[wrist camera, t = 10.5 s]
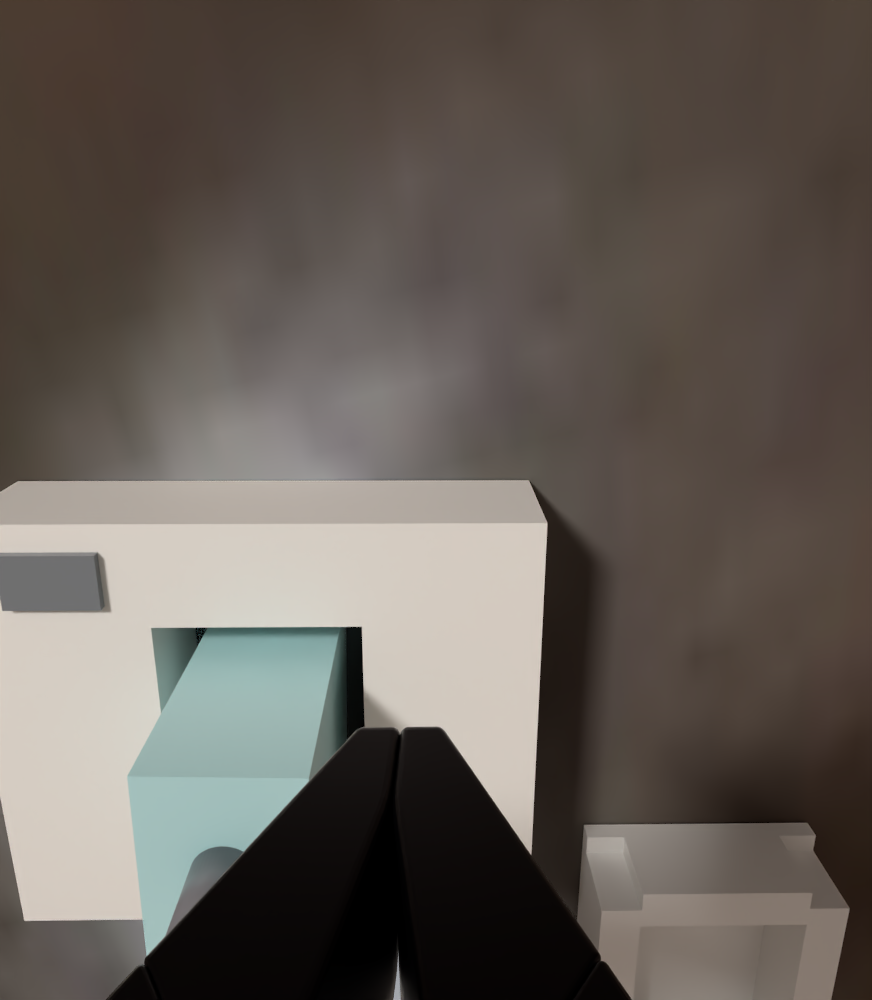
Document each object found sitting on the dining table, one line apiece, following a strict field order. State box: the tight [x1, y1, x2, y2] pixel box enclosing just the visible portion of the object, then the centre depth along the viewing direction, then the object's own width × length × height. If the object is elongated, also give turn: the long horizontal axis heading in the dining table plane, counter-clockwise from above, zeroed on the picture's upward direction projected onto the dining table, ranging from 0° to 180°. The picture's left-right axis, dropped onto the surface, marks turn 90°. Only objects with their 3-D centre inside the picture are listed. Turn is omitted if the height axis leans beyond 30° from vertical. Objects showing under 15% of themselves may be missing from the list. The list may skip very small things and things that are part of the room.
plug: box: [127, 627, 347, 955], centre depth 17 cm, size 3×4×8 cm
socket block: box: [0, 480, 547, 921], centre depth 19 cm, size 12×10×3 cm
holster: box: [577, 823, 850, 1000], centre depth 22 cm, size 6×7×2 cm
